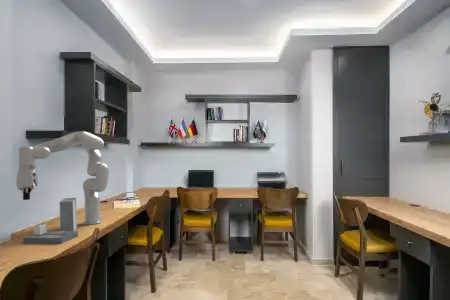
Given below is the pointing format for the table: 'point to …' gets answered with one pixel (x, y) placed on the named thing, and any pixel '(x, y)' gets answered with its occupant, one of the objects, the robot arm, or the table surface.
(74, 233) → the platform
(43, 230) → the fader knob
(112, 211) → the table surface
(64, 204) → the hard drive box
